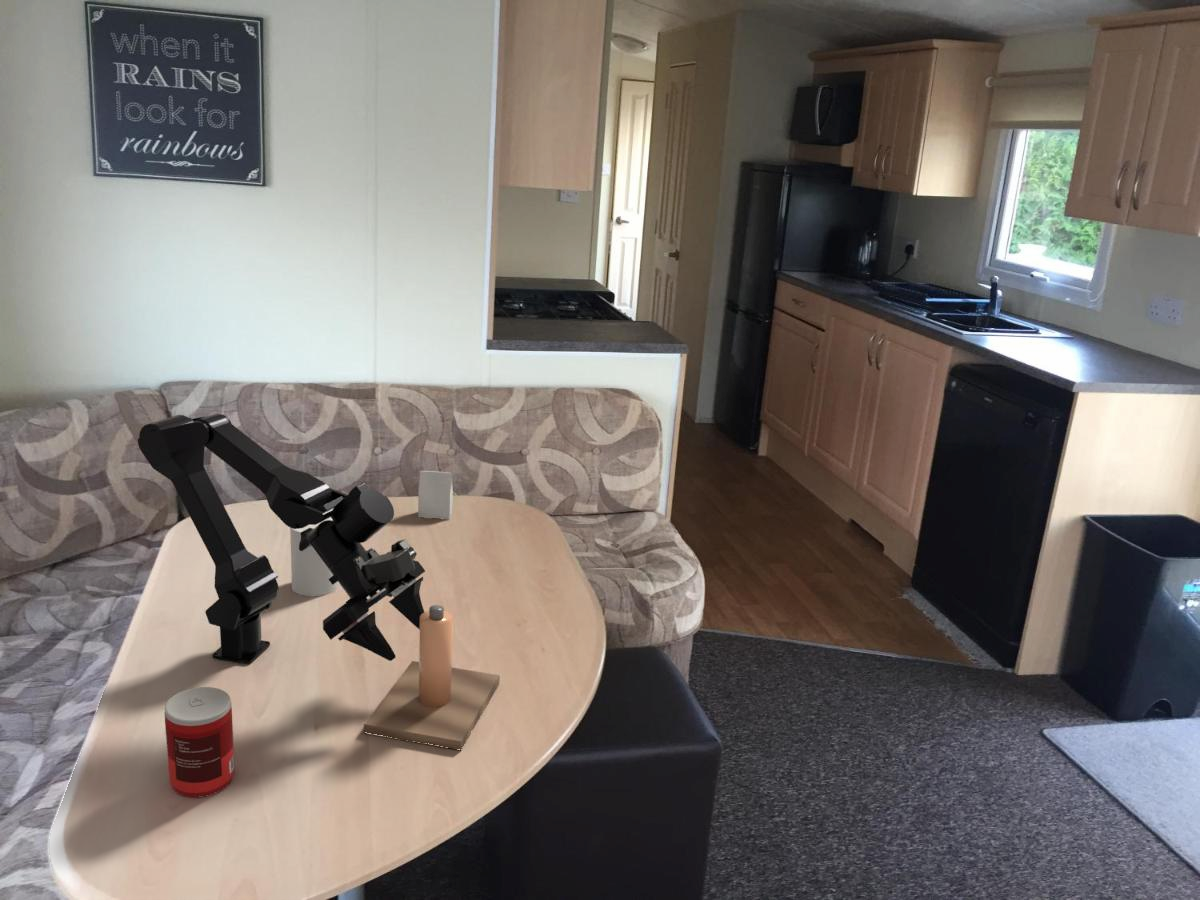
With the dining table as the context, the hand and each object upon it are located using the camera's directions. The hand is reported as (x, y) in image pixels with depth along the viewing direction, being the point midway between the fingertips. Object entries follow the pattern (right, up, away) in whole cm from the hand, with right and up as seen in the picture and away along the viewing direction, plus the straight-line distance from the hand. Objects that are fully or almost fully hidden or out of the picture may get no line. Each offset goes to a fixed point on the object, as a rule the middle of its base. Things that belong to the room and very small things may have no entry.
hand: (410, 644), depth 143 cm
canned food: (-23, -14, -17) cm, 32 cm away
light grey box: (-8, +14, +72) cm, 74 cm away
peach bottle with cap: (+3, -8, +1) cm, 9 cm away
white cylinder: (-24, +3, +36) cm, 44 cm away
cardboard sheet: (+3, -9, +1) cm, 10 cm away
